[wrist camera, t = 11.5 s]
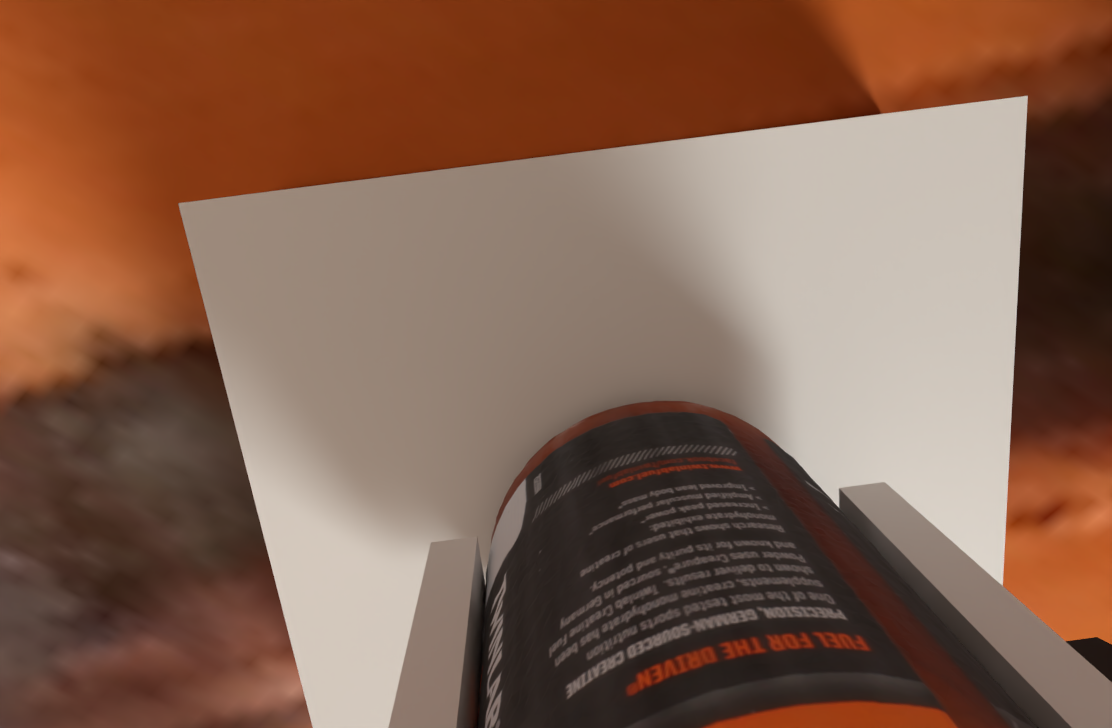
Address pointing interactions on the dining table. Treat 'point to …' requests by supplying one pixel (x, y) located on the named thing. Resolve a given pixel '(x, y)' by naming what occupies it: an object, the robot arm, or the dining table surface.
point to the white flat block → (607, 341)
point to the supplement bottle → (704, 593)
